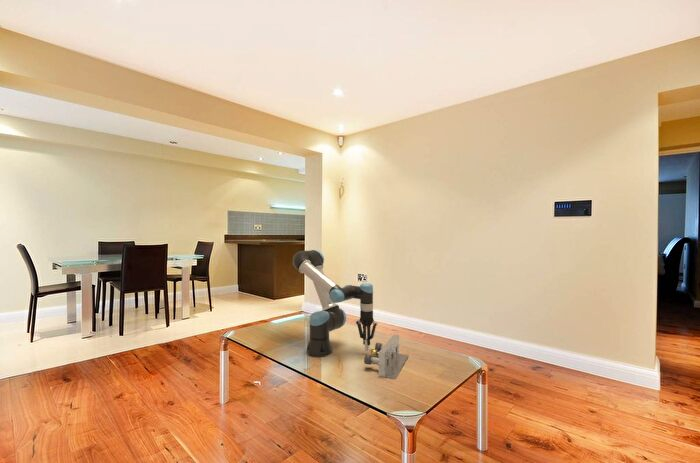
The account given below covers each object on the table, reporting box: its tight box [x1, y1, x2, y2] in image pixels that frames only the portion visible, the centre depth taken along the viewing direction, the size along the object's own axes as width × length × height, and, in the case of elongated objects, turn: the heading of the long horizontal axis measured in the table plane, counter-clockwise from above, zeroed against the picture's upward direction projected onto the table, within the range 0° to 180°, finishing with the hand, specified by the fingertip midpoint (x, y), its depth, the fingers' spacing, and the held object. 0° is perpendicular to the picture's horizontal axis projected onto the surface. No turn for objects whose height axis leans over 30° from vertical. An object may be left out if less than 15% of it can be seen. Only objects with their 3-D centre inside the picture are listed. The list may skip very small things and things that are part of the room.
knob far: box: [374, 342, 384, 351], centre depth 180 cm, size 11×5×5 cm, turn 67°
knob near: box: [363, 353, 379, 366], centre depth 164 cm, size 11×5×5 cm, turn 67°
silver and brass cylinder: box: [370, 348, 379, 358], centre depth 172 cm, size 11×4×4 cm, turn 67°
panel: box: [378, 333, 409, 380], centre depth 169 cm, size 8×30×12 cm, turn 157°
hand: (366, 350), depth 185 cm, fingers closed
